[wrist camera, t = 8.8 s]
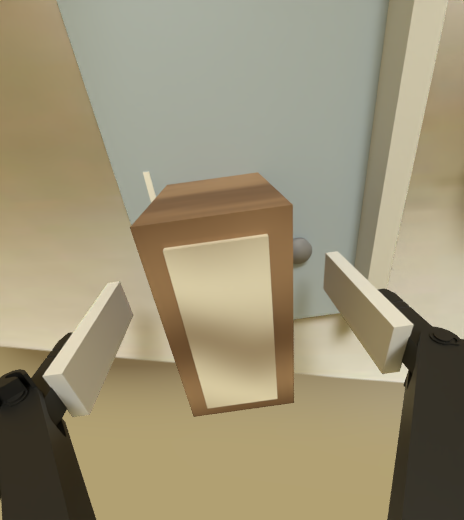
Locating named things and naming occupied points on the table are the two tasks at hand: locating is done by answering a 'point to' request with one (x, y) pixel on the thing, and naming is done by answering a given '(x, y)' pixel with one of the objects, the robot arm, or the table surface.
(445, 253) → the table surface
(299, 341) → the table surface
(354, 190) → the wall panel
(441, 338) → the robot arm
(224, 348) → the frame
